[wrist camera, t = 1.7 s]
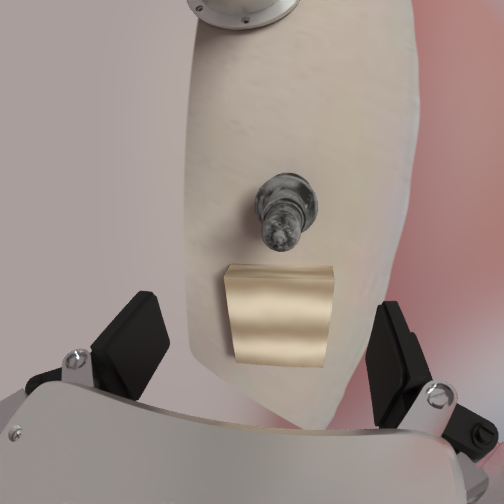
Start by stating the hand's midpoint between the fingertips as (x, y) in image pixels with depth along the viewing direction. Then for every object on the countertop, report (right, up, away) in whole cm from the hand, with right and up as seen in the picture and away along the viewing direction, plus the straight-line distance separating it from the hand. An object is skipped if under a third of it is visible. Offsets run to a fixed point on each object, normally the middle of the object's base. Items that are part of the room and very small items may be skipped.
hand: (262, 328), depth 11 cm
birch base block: (+3, -5, +24) cm, 25 cm away
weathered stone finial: (+3, +9, +18) cm, 20 cm away
